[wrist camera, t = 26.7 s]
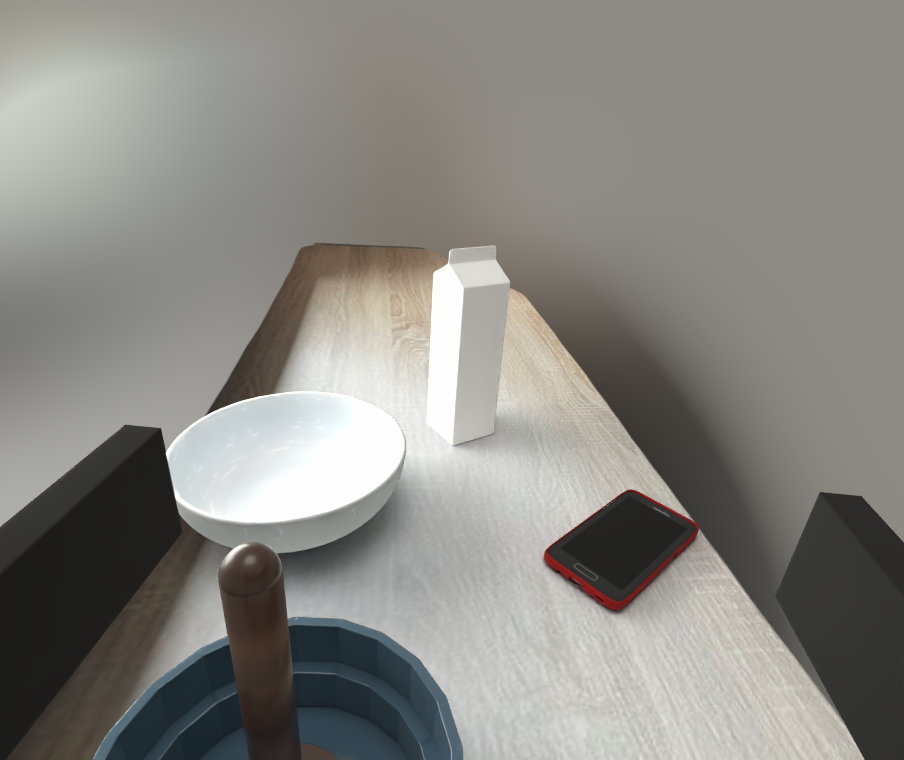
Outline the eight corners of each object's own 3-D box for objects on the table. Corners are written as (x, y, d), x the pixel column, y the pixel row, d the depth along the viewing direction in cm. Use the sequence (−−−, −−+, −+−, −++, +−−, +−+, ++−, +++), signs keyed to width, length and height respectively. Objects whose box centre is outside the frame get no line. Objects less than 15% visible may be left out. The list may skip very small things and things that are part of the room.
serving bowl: (222, 441, 62) (214, 386, 59) (409, 448, 63) (411, 394, 60) (127, 586, 43) (108, 516, 40) (396, 593, 44) (397, 525, 41)
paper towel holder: (367, 902, 27) (362, 607, 18) (209, 960, 24) (115, 657, 16) (346, 754, 32) (335, 478, 24) (218, 791, 30) (153, 503, 22)
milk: (426, 423, 68) (432, 243, 59) (467, 412, 71) (479, 239, 62) (452, 447, 64) (464, 256, 54) (495, 434, 67) (513, 251, 57)
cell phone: (538, 560, 48) (540, 552, 48) (628, 494, 57) (630, 486, 57) (616, 616, 43) (618, 607, 43) (700, 534, 52) (703, 526, 52)
